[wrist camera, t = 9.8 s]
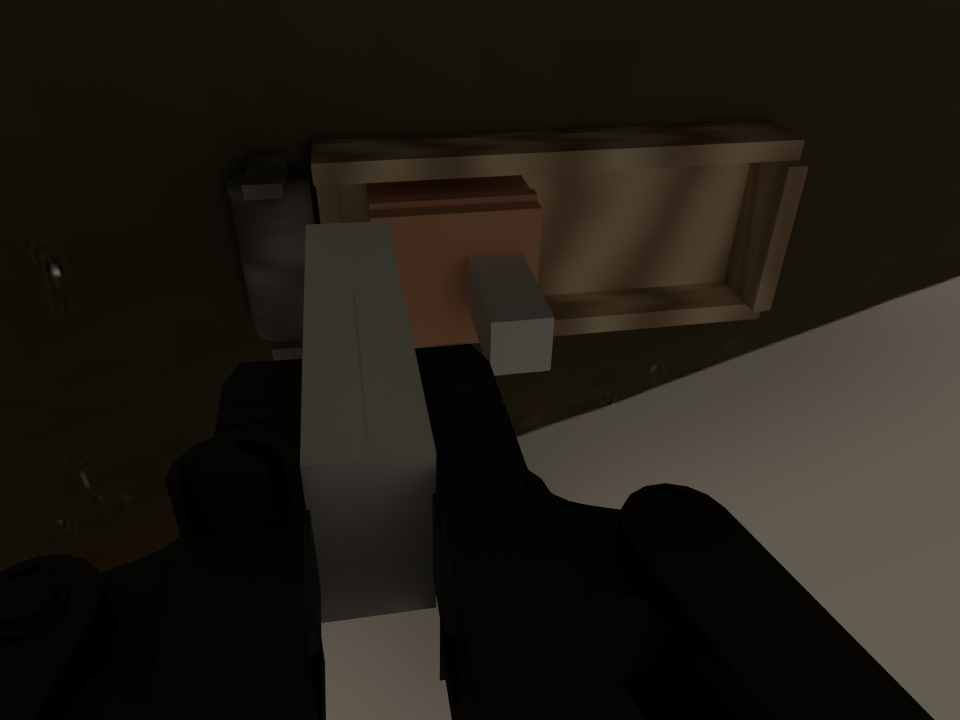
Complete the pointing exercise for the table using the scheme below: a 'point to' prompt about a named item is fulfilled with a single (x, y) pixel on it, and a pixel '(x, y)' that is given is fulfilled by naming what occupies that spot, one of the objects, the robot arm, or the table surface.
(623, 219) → the bay
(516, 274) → the brown block with post
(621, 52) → the table surface
